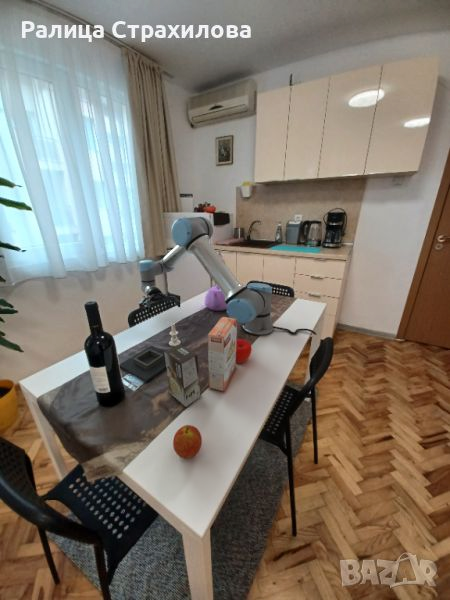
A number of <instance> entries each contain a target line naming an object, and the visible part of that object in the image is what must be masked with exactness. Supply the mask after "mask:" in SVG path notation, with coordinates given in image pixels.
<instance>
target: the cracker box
mask: <svg viewBox="0 0 450 600" xmlns="http://www.w3.org/2000/svg"><path fill="white" fill-rule="evenodd" d="M237 331H238V323H237V319H234V318H230V317H228V316H227V317H226V316H222V317H220V319H219V320H218V321H217V322H216V324H215V325H214V327H212V329H211V330H210V332H209V333H208V334H207V354H208V355H207V357H208V361H207V363H208V388H209V389H213V390H217V391H221V392H225V390H226V388H227V386H228V385H229V381H230V380H231V377H232V376H233V373H234V371H235V369H236V340H237V337H238V336H237V334H238V333H237Z"/></svg>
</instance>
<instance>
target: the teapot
mask: <svg viewBox="0 0 450 600" xmlns="http://www.w3.org/2000/svg"><path fill="white" fill-rule="evenodd" d="M204 305H205V307H206V308H207V309H209V310H210V311H215V312H221V311H222V312H223V311H227V304H226V303H225V295H224V294H223V293H222V291H221V290H220V289H219V287H218V286H217V285H216V284H215V285H214V286H211V287H210V288H209V289H208V291H207V292H206V294H205V297H204Z"/></svg>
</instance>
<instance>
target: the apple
mask: <svg viewBox="0 0 450 600" xmlns="http://www.w3.org/2000/svg"><path fill="white" fill-rule="evenodd" d="M251 344H252V343H251V342H250V341H248V340H246V339H241V338H240V339H238V338H237V339H236V363H237V364H242V363H245V362H246V361H247V360H248V359H249V357H250V356H251V354H252V351H253V350H252V349H253V348H252V345H251Z"/></svg>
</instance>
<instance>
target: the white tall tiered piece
mask: <svg viewBox="0 0 450 600" xmlns="http://www.w3.org/2000/svg"><path fill="white" fill-rule="evenodd" d="M170 327H171V328H170V329H171V331H169V335H170V336H171V338H170V340H169V342H168V345H169V346H170V347H175V346H177V345H179V344H182V343H181V342H182V341H181V340H180V339H179V337H178V336H177V335H178V334H179V331H177V330H176V325H175V322H172V323H171V324H170Z"/></svg>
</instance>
